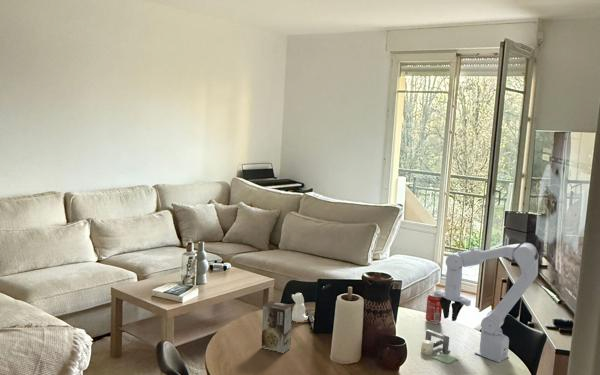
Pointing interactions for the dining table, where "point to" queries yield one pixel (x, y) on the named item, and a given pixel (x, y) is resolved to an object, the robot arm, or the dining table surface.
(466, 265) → the robot arm
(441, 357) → the pad
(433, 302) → the beverage can
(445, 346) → the bracket
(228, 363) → the dining table surface
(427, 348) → the plug
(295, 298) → the seated beast figurine
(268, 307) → the coffee box
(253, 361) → the dining table surface
